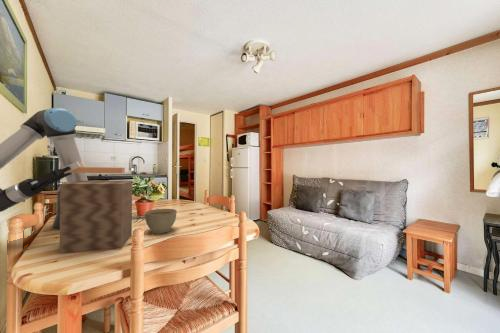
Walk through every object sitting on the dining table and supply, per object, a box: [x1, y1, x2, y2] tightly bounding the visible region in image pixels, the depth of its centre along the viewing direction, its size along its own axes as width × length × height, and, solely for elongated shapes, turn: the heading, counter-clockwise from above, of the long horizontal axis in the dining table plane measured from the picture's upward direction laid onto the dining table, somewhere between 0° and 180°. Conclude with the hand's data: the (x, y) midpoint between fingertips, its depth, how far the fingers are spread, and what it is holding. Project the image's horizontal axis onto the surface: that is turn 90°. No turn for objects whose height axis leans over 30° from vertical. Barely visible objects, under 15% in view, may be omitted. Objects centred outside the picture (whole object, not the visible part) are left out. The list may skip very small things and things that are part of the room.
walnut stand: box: [58, 179, 133, 255], centre depth 97 cm, size 22×18×28 cm
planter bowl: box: [144, 208, 178, 235], centre depth 116 cm, size 16×16×11 cm
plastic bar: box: [60, 166, 126, 174], centre depth 100 cm, size 24×4×2 cm, turn 106°
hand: (81, 164), depth 98 cm, fingers closed on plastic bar, 4 cm apart
